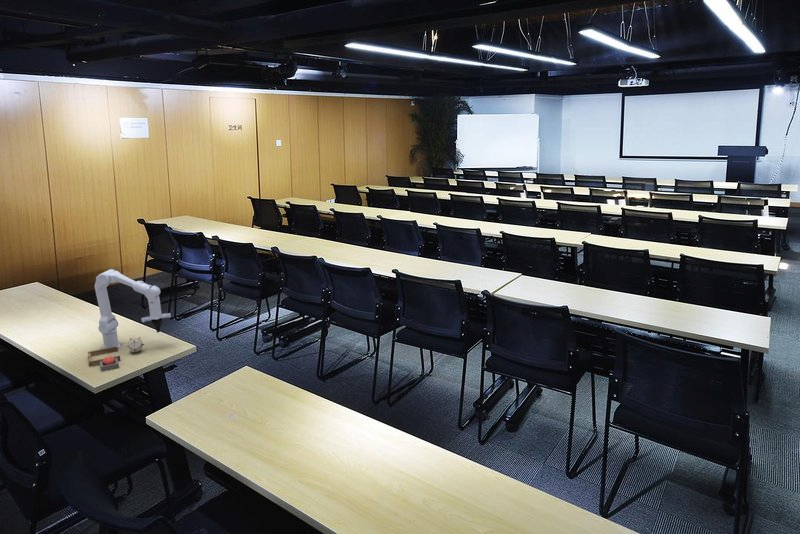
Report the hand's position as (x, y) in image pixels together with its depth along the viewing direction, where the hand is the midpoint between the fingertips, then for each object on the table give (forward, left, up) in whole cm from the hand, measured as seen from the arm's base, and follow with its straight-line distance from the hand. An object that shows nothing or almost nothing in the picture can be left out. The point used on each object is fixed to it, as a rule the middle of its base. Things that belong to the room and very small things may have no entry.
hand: (158, 331), depth 301 cm
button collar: (+13, -26, -9) cm, 30 cm away
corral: (0, -27, -9) cm, 29 cm away
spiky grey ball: (0, -12, -10) cm, 15 cm away
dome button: (+13, -26, -8) cm, 30 cm away
